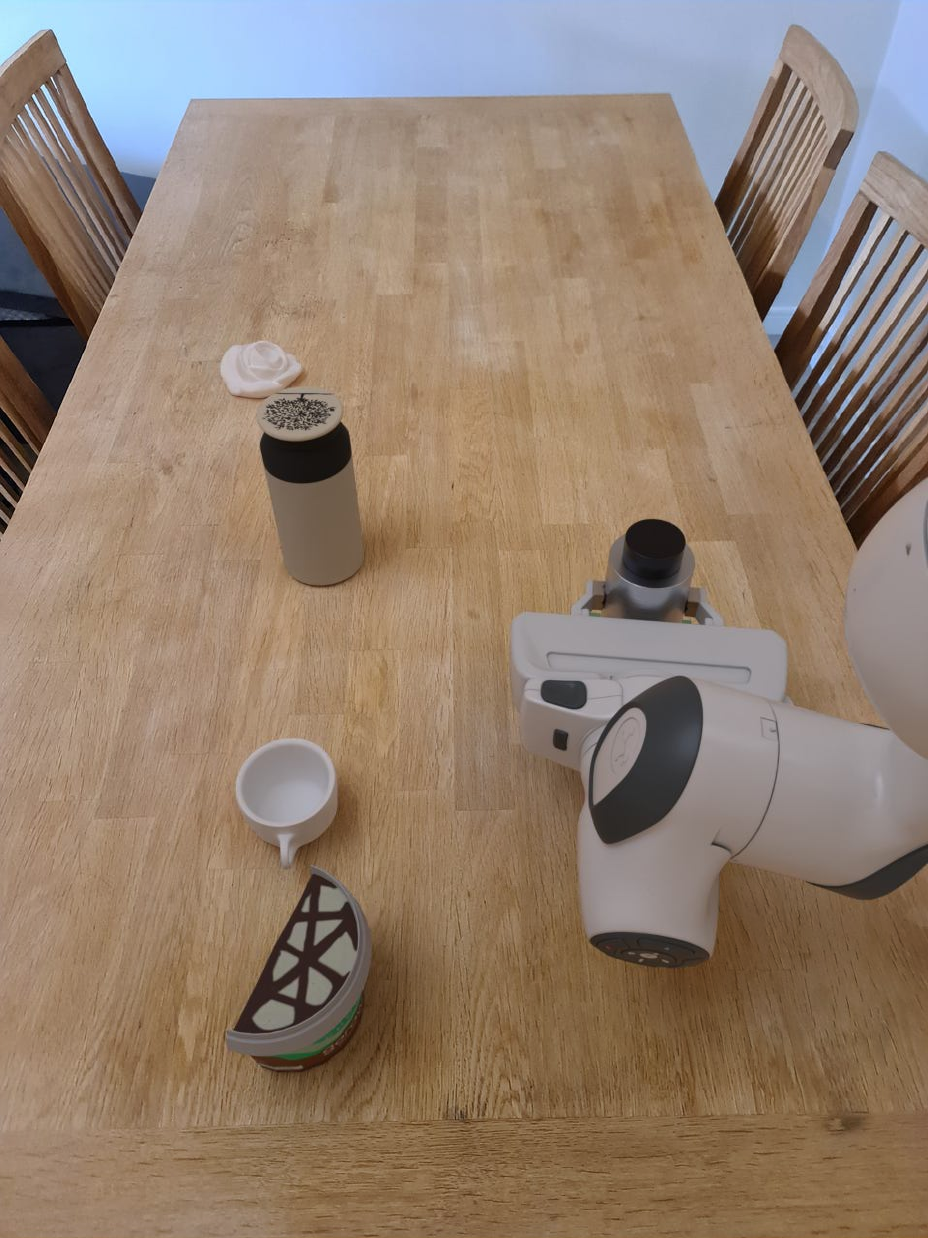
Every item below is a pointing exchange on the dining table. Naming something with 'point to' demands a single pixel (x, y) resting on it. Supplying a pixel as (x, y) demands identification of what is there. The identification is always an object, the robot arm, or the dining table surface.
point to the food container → (309, 983)
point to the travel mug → (311, 484)
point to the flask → (649, 573)
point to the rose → (258, 369)
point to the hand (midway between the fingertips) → (643, 589)
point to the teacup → (288, 794)
